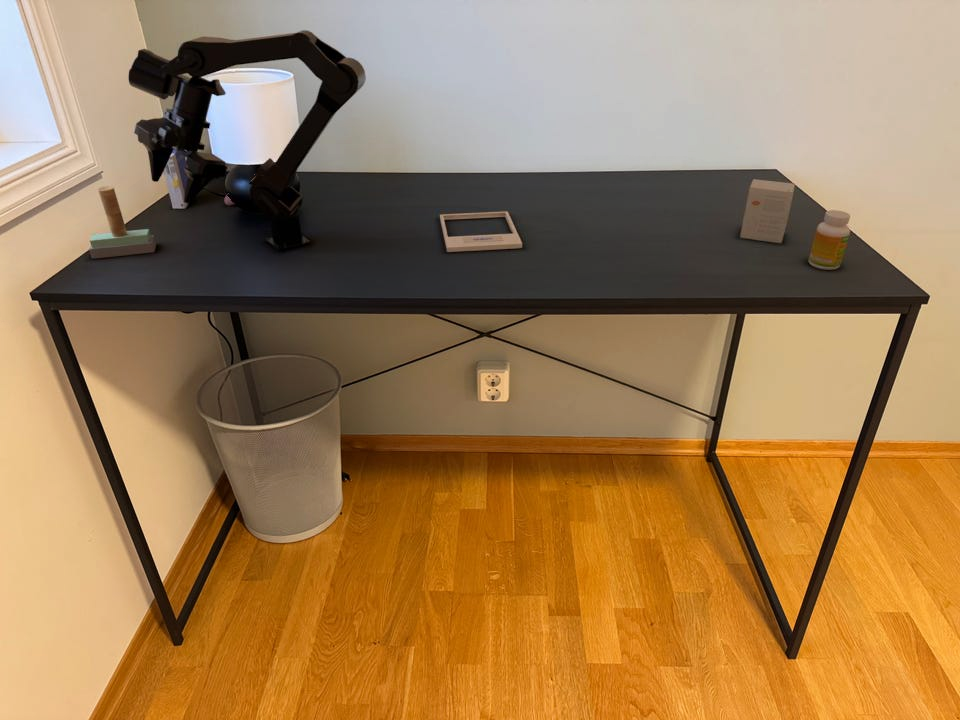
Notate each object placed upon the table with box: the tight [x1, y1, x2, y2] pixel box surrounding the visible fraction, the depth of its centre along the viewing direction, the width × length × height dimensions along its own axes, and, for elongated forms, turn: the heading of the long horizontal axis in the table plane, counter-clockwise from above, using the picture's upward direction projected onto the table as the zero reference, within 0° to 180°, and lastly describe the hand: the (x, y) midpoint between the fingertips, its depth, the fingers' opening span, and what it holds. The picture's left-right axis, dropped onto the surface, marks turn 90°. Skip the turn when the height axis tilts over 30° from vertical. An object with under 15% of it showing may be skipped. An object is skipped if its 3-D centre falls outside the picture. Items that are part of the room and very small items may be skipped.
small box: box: [739, 178, 796, 244], centre depth 135 cm, size 8×6×10 cm
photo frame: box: [439, 210, 523, 253], centre depth 139 cm, size 15×1×18 cm
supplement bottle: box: [808, 209, 851, 271], centre depth 124 cm, size 5×5×10 cm
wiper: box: [88, 185, 157, 260], centre depth 129 cm, size 11×4×12 cm, turn 106°
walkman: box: [163, 149, 190, 210], centre depth 153 cm, size 8×3×12 cm, turn 4°
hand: (170, 191), depth 129 cm, fingers open, 9 cm apart
